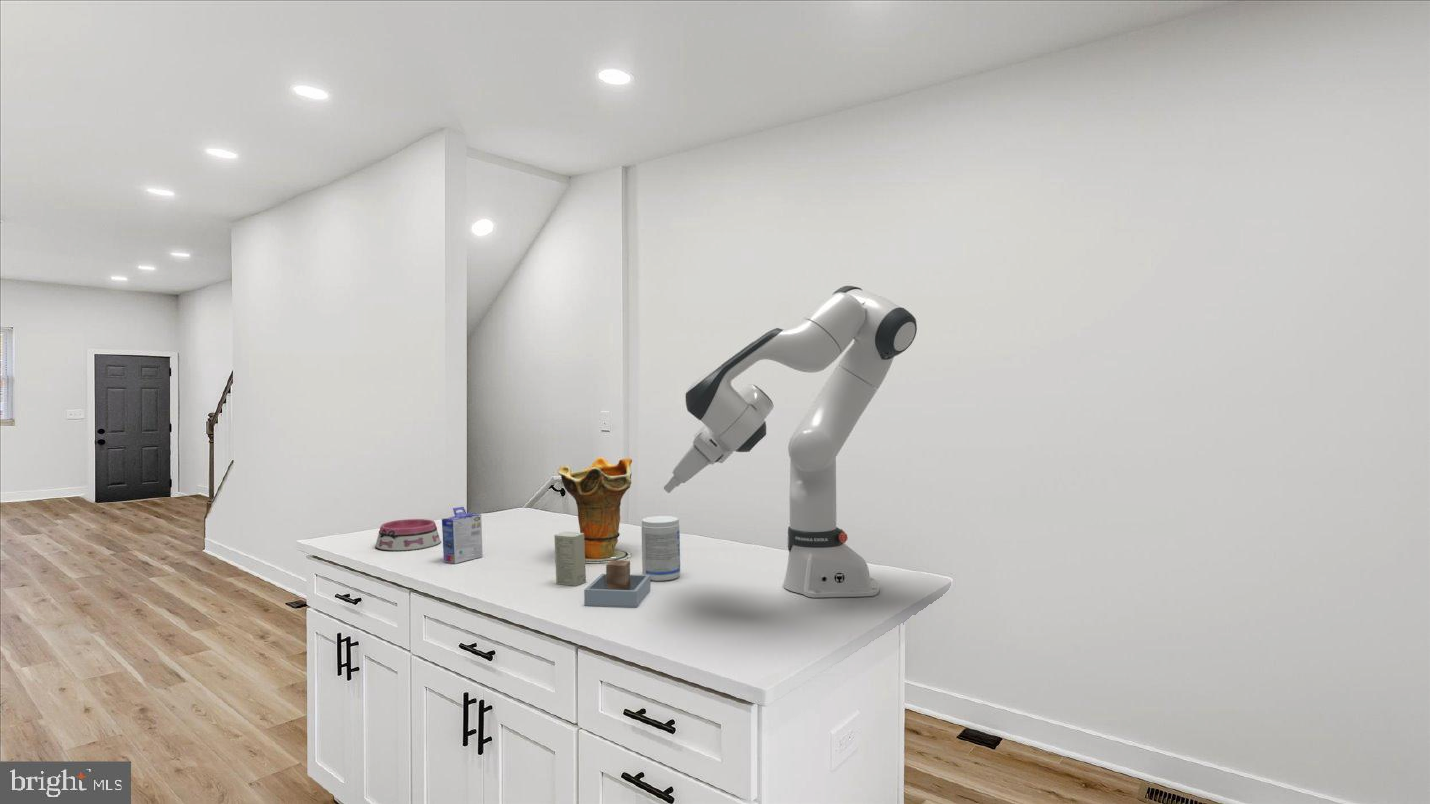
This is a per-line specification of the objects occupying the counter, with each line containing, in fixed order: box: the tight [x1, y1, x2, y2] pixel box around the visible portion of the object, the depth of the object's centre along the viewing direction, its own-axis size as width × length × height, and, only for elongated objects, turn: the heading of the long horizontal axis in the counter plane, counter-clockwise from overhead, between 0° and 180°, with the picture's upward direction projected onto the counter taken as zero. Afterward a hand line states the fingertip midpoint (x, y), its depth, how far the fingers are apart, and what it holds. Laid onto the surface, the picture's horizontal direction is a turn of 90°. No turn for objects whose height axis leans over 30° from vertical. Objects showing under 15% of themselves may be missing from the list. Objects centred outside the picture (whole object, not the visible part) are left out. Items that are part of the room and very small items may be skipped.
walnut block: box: [605, 560, 631, 590], centre depth 168 cm, size 4×4×8 cm
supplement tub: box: [641, 515, 681, 582], centre depth 185 cm, size 10×10×15 cm
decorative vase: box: [557, 456, 633, 564], centre depth 207 cm, size 21×23×28 cm
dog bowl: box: [375, 518, 442, 553], centre depth 225 cm, size 18×19×7 cm
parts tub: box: [583, 573, 652, 608], centre depth 168 cm, size 12×14×4 cm
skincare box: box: [553, 531, 587, 587], centre depth 180 cm, size 6×4×12 cm
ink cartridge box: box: [441, 506, 484, 565], centre depth 205 cm, size 10×6×14 cm, turn 148°
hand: (670, 487), depth 166 cm, fingers open, 8 cm apart
